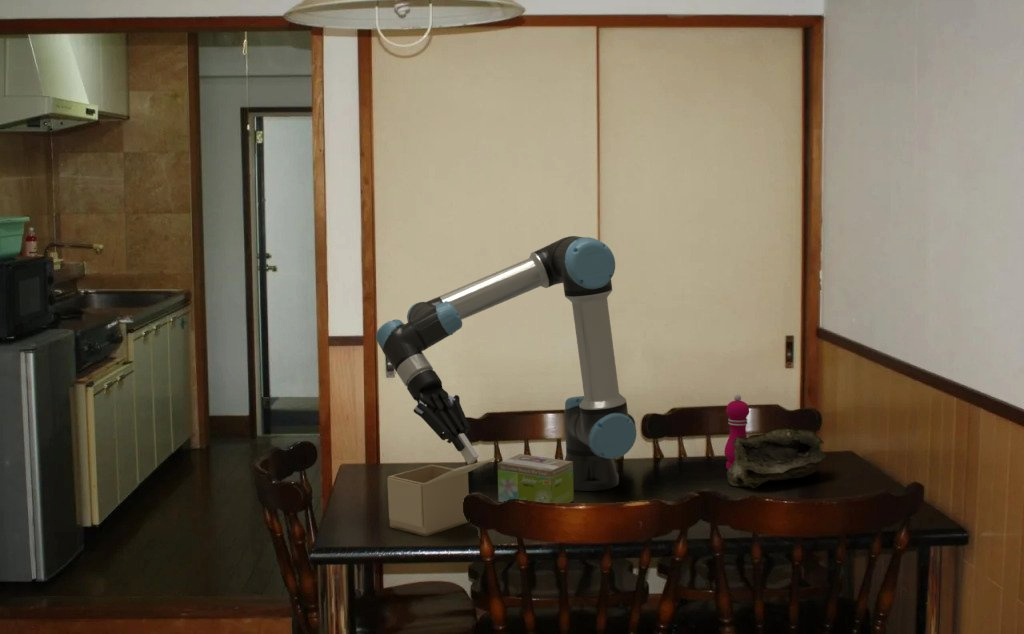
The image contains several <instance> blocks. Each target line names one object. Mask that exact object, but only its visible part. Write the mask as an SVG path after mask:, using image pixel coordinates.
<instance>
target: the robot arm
mask: <svg viewBox="0 0 1024 634" xmlns="http://www.w3.org/2000/svg"><path fill="white" fill-rule="evenodd" d="M615 270H616V259H615V256H614V254H613V252H612V250H611V248H610V247H609V246H608V245H606V244H605V243H604V242H603V241H600V240H598V239H597V238H594V237H590V236H589V237H588V236H587V237H584V236H575V235H571V236H567V237H563V238H561V239H558V240H556V241H554V242H551V243H550V244H547V245H546V246H544V247H542V248H539V249H537V250H535V251H533V252H531V253H530V256H529V258H527V259H524V260H522V261H520V262H519V261H518V262H517V263H515V264H512V265H510V266H508V267H505V268H503V269H500V270H499V271H496V272H493V273H491V274H488V275H486V276H484V277H482V278H479V279H476V280H475V281H472V282H469V283H468V284H466V285H463V286H461V287H458V288H456V289H453V290H451V291H449V292H446V293H444V294H441V295H439V296H437V297H434V298H432V299H430V300H427V301H420V302H416V303H414V304H412V305H411V307H410V308H409V309H408V311H407V313H406V314H407V315H406V320H407V322H406V323H404V322H403V321H402V320H400V319H392V320H388V321H387V322H385V323H383V324H382V325H380V327H379V328H378V329H377V331H376V334H375V340H376V342H377V343H378V346H379V347H380V349H381V351H382V353H383V354H384V356H385V357H386V359H387V360H388V362H389V363H390V365H391V366H392V368H393V369H394V370H395V372H396V374H397V375H398V377H399V379H400V380H401V382H402V383H403V384H404V386H405V387H406V389H407V391H408V392H409V394H410V396H411V397H412V398H413V400H414V401H415V402H416V403H417V405H416V406H415V407H414V408H413V413H414V414H416V415H418V416H419V417H420V418H421V419H422V420H423V421H424V422H425V423H426V424H427V425H428V427H430V428H431V430H432V431H433V432H434V433H435V434H436V435H437V436H438V437H439V438H440V440H442V441H446V443H448V444H452V445H453V446H454V447H455V449H456V451H457V452H460V454H461V456H462V457H463V459H464V461H465V462H466V464H467V465H470V464H474V463H476V462H475V461H477V459H479V454H478V452H477V451H476V449H475V448H474V447H473V443H472V441H471V439H470V437H469V436H468V435H467V433H468V432H469V431H470V429H471V426H470V424H469V422H468V419H467V417H466V414H465V412H464V410H463V408H462V406H461V404H460V403H461V401H460V396H459V395H457V394H455V395H454V396H453V395H450V394H449V393H448V392H447V391H446V390H445V389H444V388H443V381H442V380H441V378H440V376H439V375H438V374H437V373H436V371H435V370H434V368H433V366H432V365H431V362H430V361H429V360H428V358H427V357H426V356H425V354H424V353H423V351H426V350H427V349H430V347H432V346H434V345H436V344H437V343H439V342H441V341H442V340H445V339H446V338H448V337H450V336H453V335H454V334H455V333H456V332H457V331H459V330H460V329H461V328H463V321H462V320H464V319H467V318H469V317H472V316H474V315H476V314H479V313H480V312H483V311H485V310H488V309H490V308H493V307H495V306H497V305H499V304H502V303H504V302H507V301H509V300H511V299H515V298H517V297H519V296H521V295H524V294H525V293H528V292H530V291H532V290H535V289H537V288H540V287H542V288H545V289H547V288H550V287H552V286H556V285H559V284H562V285H563V293H564V297H565V298H566V299H568V300H569V301H570V303H571V306H572V314H573V321H574V327H575V329H574V330H575V336H576V344H577V350H578V352H577V353H578V359H579V365H580V374H581V381H582V390H583V396H582V395H581V396H579V395H578V396H572V397H569V398H567V399H566V400H565V402H564V411H563V412H564V422H565V423H564V425H565V427H564V428H565V457H564V460H565V461H573V490H574V491H577V492H597V491H606V490H610V489H613V488H616V487H617V486H618V485H619V484H620V483H619V482H620V480H619V477H620V476H619V473H618V471H617V469H616V464H615V463H614V462H615V460H614V459H618V458H621V457H623V456H625V455H626V454H628V453H629V452H630V451H631V449H632V448H633V446H634V445H635V442H636V439H637V427H636V424H635V423H634V421H633V419H632V418H631V417H629V412H628V411H629V410H628V405H627V398H625V397H624V396H623V395H622V394H620V390H619V382H618V381H619V380H618V373H617V366H616V360H615V359H616V358H615V350H614V342H613V333H612V324H611V319H610V310H609V302H608V297H609V296H610V295H611V293H612V292H613V284H612V278H613V276H614V274H615Z"/></svg>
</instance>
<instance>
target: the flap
mask: <svg viewBox="0 0 1024 634" xmlns="http://www.w3.org/2000/svg"><path fill="white" fill-rule="evenodd" d="M495 460H496V458H495V457H492V458H488V459H485V460H482V461H478V462H474V463H472V464H469V465H468V464H467V465H463V466H461V467H456V468H452V469H453V470H451V471H449V472H447V473H445V474H443V475H441V476H439V477H437V478H434V479H432V480H430V481H428V482H426V484H429V483H433V482H436V481H440V480H443V479H447V478H450V477H454V476H457V475H461V474H464V473H467V472H468V473H469V472H472V471H474V470H475V469H478V468H480V467H482V466H484V465H487V464H488V463H491V462H492V461H495Z"/></svg>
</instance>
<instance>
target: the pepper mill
mask: <svg viewBox="0 0 1024 634" xmlns="http://www.w3.org/2000/svg"><path fill="white" fill-rule="evenodd" d="M725 409H726V414H727V416H728V423H727V424H728V425H729V436H728V439H727V442H726V444H725V446H724V451H723V452H724V457H725V458H726V459H727V461H726V465H725V466H726V469H727V471H728V470H729V468H730V467H731V466H732V464H733V463H734V461H735V455H734V453H733V452H734V450H735V446H732V443H733V442H734V440H735V438H736V437H739V436H742V437H745V438H747V437H748V436H747V433H746V432H747V431H746V428H747V424H748V418H747V417H748V416H749V414H750V407H749V404H748V403H746V402H745V401H743V400H742V397H741V395H740V394H736V395H734V400H732V401H730V402H729V403H728V404H727V406H726V408H725Z"/></svg>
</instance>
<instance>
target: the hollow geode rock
mask: <svg viewBox="0 0 1024 634" xmlns="http://www.w3.org/2000/svg"><path fill="white" fill-rule="evenodd" d="M823 444H824V440H823V439H821V437H820V436H819V435H818V434H816V433H815V431H812V430H808V429H803V428H800V429H795V428H791V427H781V428H779V427H777V428H773V429H770V430H767V431H766V432H764V433H761V434H753V435H749V436H747V438H745V437H742V436H739V437H736V438H735V440H734V442H733V443H732V446H735V450H734V452H733V453H734V455H735V461H734V463H733V464H732V466H731V467H730V468H729V470H728V469H727V471H726V476H727V482H729V484H730V485H731V486H733V487H740V488H741V487H742V488H745V487H746V488H747V487H748V488H751V489H755V488H757V487H759V486H760V485H762V484H763V483H767V482H768V481H772V482H773V481H774V482H777V481H785V480H790V479H797V478H798V479H802V478H805V477H806V476H810V475H812V474H814V473H815V472H817V470H818V468H819V467H820V464H821V461H822V460H823V459H824V458H826V455H827V452H824V451H823V450H822V448H821V447H822V445H823Z"/></svg>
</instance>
